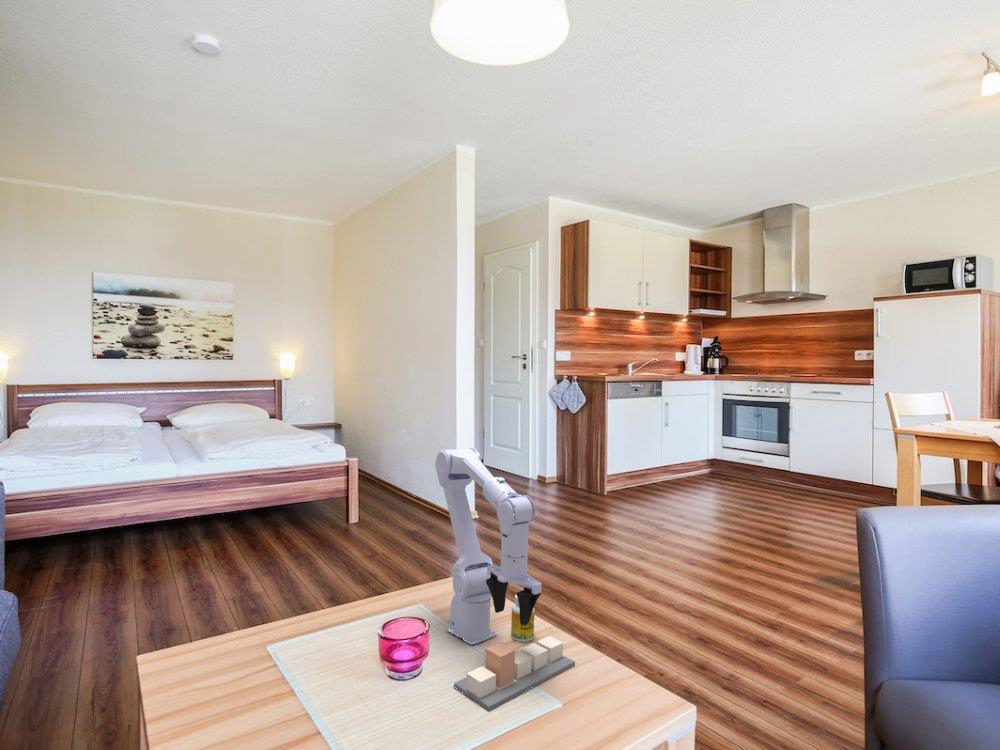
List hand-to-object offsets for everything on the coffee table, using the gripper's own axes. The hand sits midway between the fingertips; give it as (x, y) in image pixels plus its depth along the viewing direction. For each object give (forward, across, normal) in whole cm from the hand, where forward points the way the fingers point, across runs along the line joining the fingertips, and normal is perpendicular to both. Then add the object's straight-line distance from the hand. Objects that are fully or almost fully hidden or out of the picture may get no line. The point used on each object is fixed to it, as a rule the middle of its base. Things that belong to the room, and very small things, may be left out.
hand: (511, 617), depth 119 cm
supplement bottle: (+10, -6, +10) cm, 15 cm away
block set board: (+9, +5, -3) cm, 11 cm away
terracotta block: (+8, +5, -8) cm, 13 cm away
